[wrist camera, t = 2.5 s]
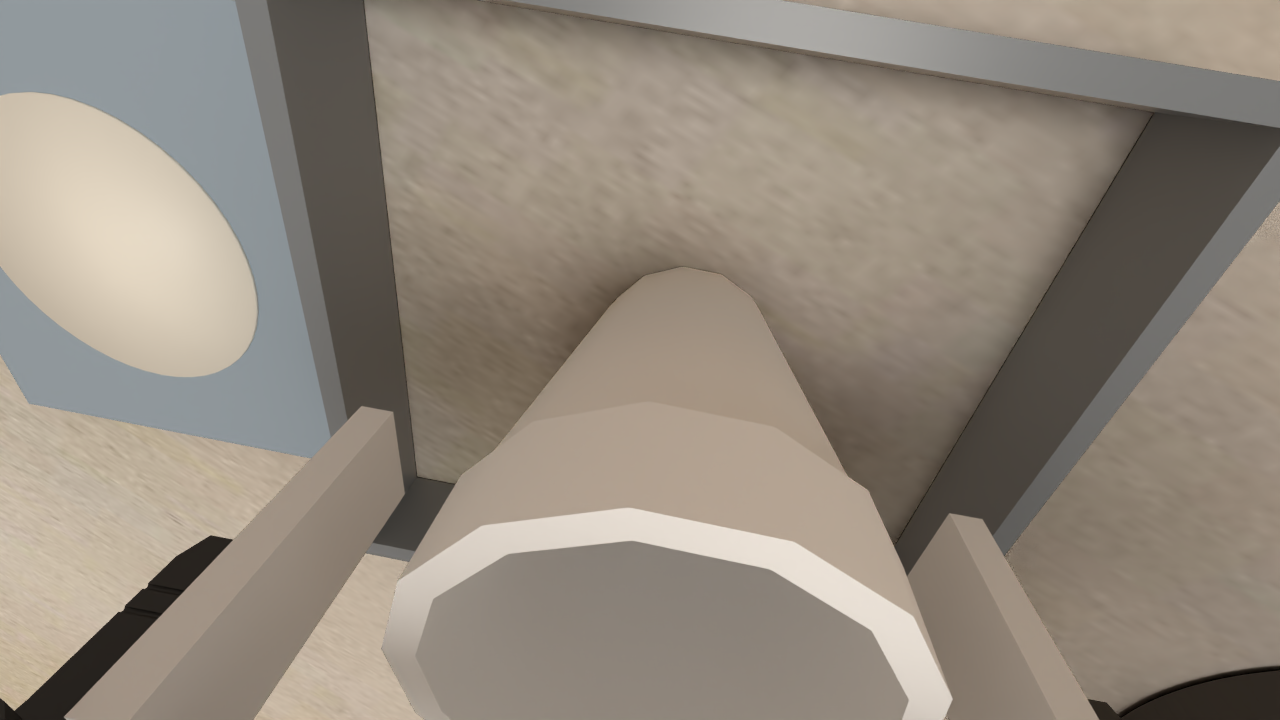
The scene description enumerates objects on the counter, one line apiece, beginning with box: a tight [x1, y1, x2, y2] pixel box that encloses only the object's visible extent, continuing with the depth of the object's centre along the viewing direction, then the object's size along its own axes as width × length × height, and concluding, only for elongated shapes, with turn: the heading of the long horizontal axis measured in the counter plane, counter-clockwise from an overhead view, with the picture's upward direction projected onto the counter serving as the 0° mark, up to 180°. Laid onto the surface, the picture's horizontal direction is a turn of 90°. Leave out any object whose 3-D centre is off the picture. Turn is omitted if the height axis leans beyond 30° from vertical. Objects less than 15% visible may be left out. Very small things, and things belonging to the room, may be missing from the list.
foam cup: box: [381, 267, 953, 720], centre depth 14 cm, size 10×9×13 cm
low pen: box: [235, 0, 1280, 576], centre depth 18 cm, size 22×25×4 cm
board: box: [0, 0, 331, 458], centre depth 20 cm, size 18×16×1 cm
